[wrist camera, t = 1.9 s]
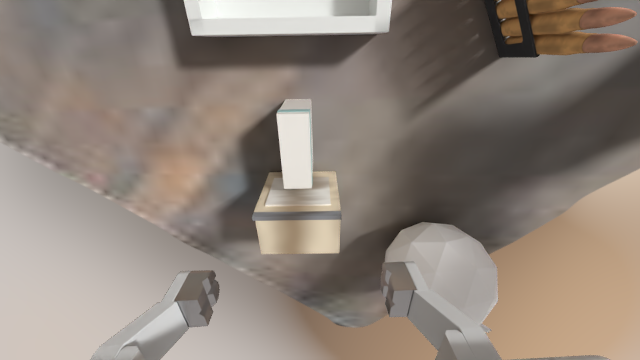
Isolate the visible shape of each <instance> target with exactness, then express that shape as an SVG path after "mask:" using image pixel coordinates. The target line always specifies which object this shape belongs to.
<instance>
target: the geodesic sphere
mask: <svg viewBox="0 0 640 360" xmlns="http://www.w3.org/2000/svg"><path fill="white" fill-rule="evenodd" d="M408 261H414V262H415V263H416V265H417V267H418V269H419V271H420V273H421V275H422V277H423V279H424V281H425V283H426V285H427V287H428V289H429V290H433V291H435V292H436V293H437V294H438V295H440V296H441V297H442V298H444V299H445V300H446V301H448V302H449V303H450V304H452V305H453V306H454V307H456V308H457V309H458V310H459V311H461V312H462V313H463V314H465V315H466V316H467V317H469V318H470V319H471V320H473V321H474V322H475V323H477V324H478V325H479V326H480V327H482V328H483V330H484V331H485V332H489V331H491V329H489V328H488V327H487V326H485V325H483V324H482V322H483V321H484V319H485V318H486V317H487V315H488V314H489V313H490V311H491V310H492V308H493V307H494V306H495V304H496V303H497V301H498V290H497V267H496V265H495V264H494V262H493V261H492V259H491V258H490V256H489V255H488V253H487V252H486V250H485V249H484V247H483V245H482V244H481V243H480V242H479V241H477V240H476V239H474V238H472V237H471V236H469V235H468V234H466V233H465V232H463V231H461V230H460V229H458V228H457V227H455V226H454V225H449V224H439V223H428V222H421V223H419V224H416V225H413V226H411V227H408V228H405V229H403V230H401V231H400V233H399V234H398V235H397V237H396V238H395V239H394V241H393V242H392V243H391V245H390V246H389V247H388V249H387V250H386V254H385V263H387V262H408Z"/></svg>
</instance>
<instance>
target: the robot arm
mask: <svg viewBox="0 0 640 360" xmlns="http://www.w3.org/2000/svg"><path fill="white" fill-rule="evenodd" d="M381 269H382V272H383V273H382V274H381V275H380V286H381V291H382V294H383V296H384V297H385V298H386V302H385V305H386V308H387V311H388V314H389V317H408V319H409V320H410V321H411V322H412V323H413V324H414V325H415V326H416V327H417V329H418V330H419V331H420V332H421V333H422V334H423V335H424V336H425V337H426V338H427V339H428V340H429V342H430V343H431V344H432V345H433V346H434V347H435V348H436V349H437V350H438V353H437V356H436V358H435V360H502V359H501V357H500V356H499V354H498V353H497V351H496V349H495V348H494V346H493V345H492V343H491V342H490V340H489V338H488V337H487V335H486V333H485V332H484V330H483V328H482V327H480V326H479V325H478V324H477V323H475V322H474V321H473V320H471V319H470V318H469V317H467V316H466V315H465V314H463V313H462V312H461V311H459V310H458V309H457V308H456V307H454V306H453V305H452V304H450V303H449V302H448V301H446V300H445V299H444V298H442V297H441V296H440V295H438V294H437V293H436V292H435V291H433V290H429V289H428V287H427V285H426V283H425V281H424V279H423V277H422V275H421V273H420V271H419V269H418V267H417V265H416V263H415V262H414V261H408V262H387V263H383V264H382V268H381ZM215 277H216V275H215V272H214V271H181V272H180V273H178V274H177V276H176V278H175V279H174V281H173V283H172V285H171V286H170V288H169V289H168V291H167V293H166V294H165V296H164V298H163V299H162V301H161V302H159V303H156V304H155V305H154V306H152V307H151V308H150V309H148V310H147V311H146V312H144V313H143V314H142V315H140V316H139V317H138V318H137V319H135V320H134V321H133V322H131V323H130V324H129V325H127V326H126V327H125V328H123V329H122V330H121V331H120V332H118V333H117V334H115V335H114V336H113V337H111V338H110V339H109V340H107V341H106V342H105V343H103V344H102V345H101V346H99V348H98V349H97V351H96V352H95V354H94V355H93V356H92V358H91V359H90V360H160V359H161V358H162V357H163V356H164V355H165V354H166V353H167V352H168V350H169V349H170V348H171V347H172V346H173V345H174V344H175V343H176V342H177V341H178V340H179V339H180V338H181V336H182V335H183V334H184V333H185V332H186V331H187V330H188V329H189V328H188V327H200V326H208V324H209V321H210V319H211V316H212V313H213V310H212V308H211V307H212V306H213V305H214V304H216V303H217V300H218V296H219V284H218V282H217V281H216V280H214V279H215ZM512 360H610V359H608V358H605V357H602V356H596V355H585V356H568V357H549V358H531V359H512Z"/></svg>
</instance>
